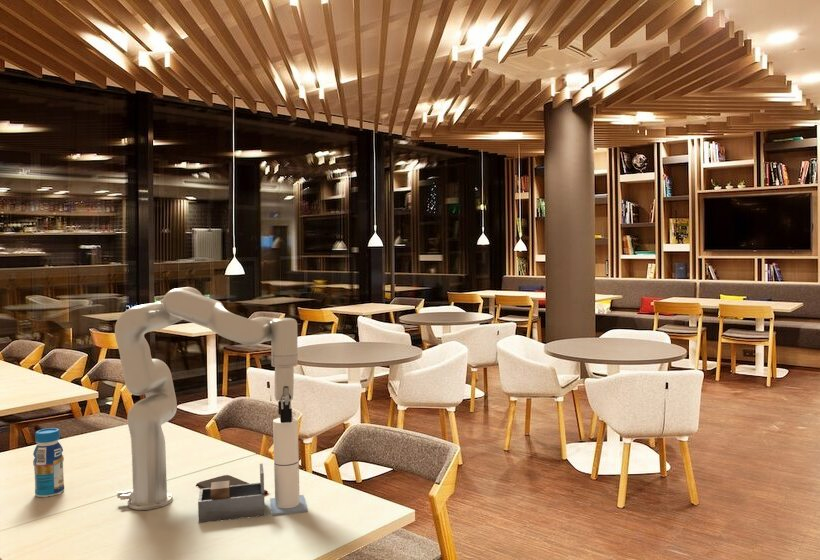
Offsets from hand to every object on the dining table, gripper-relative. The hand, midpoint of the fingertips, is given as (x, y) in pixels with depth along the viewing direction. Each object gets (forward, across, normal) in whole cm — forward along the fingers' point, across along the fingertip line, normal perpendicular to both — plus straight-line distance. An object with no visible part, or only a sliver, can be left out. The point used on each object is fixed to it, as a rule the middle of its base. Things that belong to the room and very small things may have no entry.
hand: (285, 418), depth 192 cm
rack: (+26, 0, -15) cm, 31 cm away
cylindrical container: (+26, 0, +1) cm, 26 cm away
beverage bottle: (+28, -33, -71) cm, 83 cm away
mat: (+26, 0, +1) cm, 26 cm away
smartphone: (+27, -19, -16) cm, 37 cm away
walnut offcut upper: (+22, 0, -18) cm, 29 cm away
